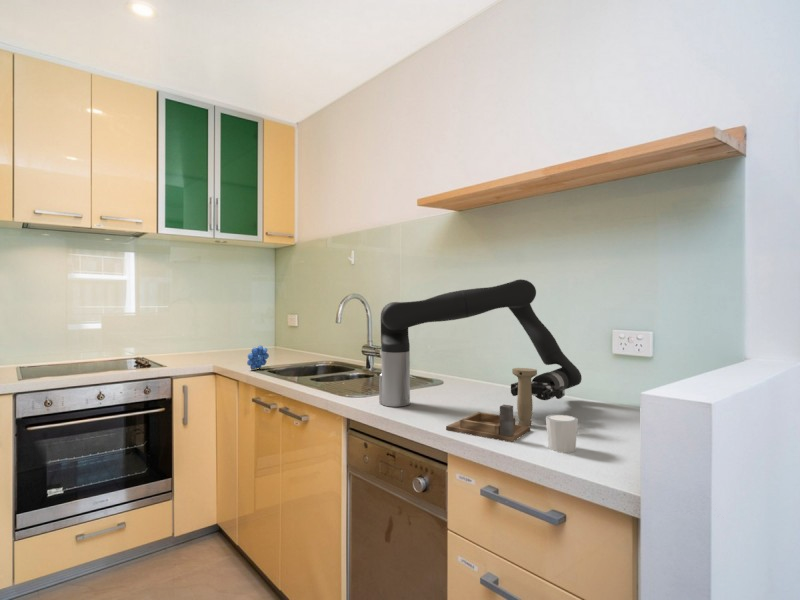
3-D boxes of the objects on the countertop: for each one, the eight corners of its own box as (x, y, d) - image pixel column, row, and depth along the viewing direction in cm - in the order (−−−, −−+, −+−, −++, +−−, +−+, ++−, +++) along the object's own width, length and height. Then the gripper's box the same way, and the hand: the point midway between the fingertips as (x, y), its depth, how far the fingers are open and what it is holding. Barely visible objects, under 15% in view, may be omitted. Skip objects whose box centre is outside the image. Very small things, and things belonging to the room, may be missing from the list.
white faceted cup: (545, 451, 101) (544, 420, 101) (546, 442, 108) (546, 412, 108) (578, 455, 99) (578, 422, 99) (578, 445, 105) (577, 415, 105)
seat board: (446, 430, 119) (445, 399, 119) (467, 420, 129) (467, 391, 129) (512, 442, 108) (511, 408, 108) (530, 430, 118) (530, 399, 118)
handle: (517, 421, 127) (517, 367, 127) (540, 425, 123) (539, 369, 123) (509, 425, 123) (509, 369, 123) (532, 429, 119) (532, 371, 119)
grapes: (264, 367, 236) (264, 344, 236) (271, 368, 232) (271, 345, 232) (243, 370, 228) (242, 345, 228) (249, 371, 223) (249, 346, 223)
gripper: (524, 370, 143) (503, 377, 130) (572, 375, 134) (554, 382, 121) (525, 395, 143) (503, 404, 130) (572, 400, 134) (554, 411, 121)
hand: (528, 394), depth 125 cm, fingers open, 8 cm apart
